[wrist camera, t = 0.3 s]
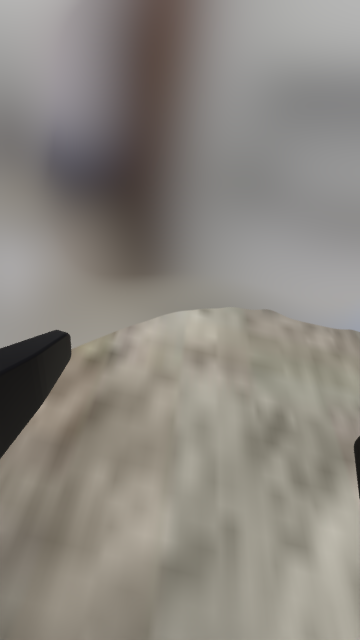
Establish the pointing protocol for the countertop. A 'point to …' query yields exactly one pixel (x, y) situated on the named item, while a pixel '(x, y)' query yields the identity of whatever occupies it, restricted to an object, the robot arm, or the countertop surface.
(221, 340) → the countertop surface
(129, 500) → the countertop surface
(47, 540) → the countertop surface
